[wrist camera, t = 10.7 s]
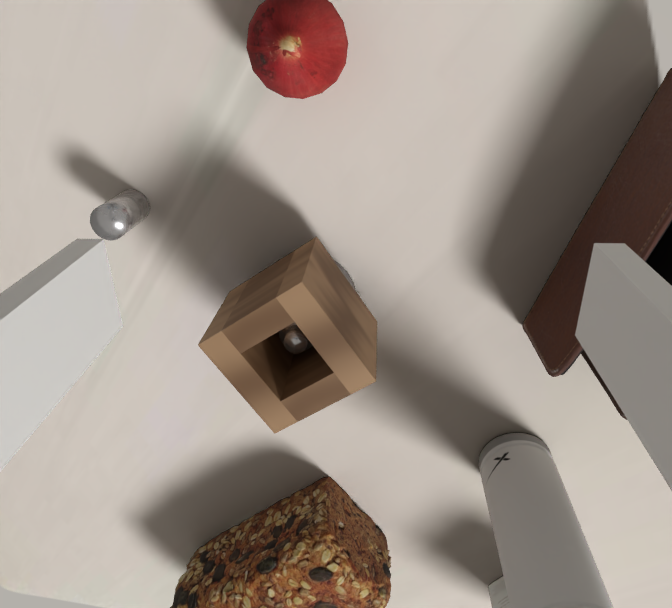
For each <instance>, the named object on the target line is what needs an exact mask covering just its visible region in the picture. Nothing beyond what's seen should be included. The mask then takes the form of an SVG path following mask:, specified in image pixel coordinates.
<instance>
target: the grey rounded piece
mask: <svg viewBox="0 0 672 608" xmlns="http://www.w3.org/2000/svg"><path fill="white" fill-rule="evenodd" d="M149 211H150V205H149V202H148V200H147V198H146V197H145V196H144V195H143V194H142V193H141V192H139V191H137V190H126V191H124V192H122V193H120V194H119V195H117V196H115V197H114V198H112V199H110V200H109V201H107V202H105V203H104V204H102V205H100V206H99V207H97V208H96V209H94V210H93V212H92V213H91V216H90V223H91V227H92V229H93V230H94V232H95V233H96V234H97V235H98V236H100V237H101V238H103V239H106V240H116V239H118V238H120V237H121V236H123V235H124V234H125V233H127V232H128V231H129V230H130V229H132V228H133V227H134V226H136V225H137V224H138V223H140V222H141V221H142V220H144V219H145V218H146V217H147V216H148V214H149Z"/></svg>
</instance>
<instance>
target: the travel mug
mask: <svg viewBox="0 0 672 608" xmlns="http://www.w3.org/2000/svg"><path fill="white" fill-rule="evenodd" d="M478 463H479V470H480V474H481V478H482V483H483V487H484V492H485V496H486V501H487V505H488V510H489V514H490V519H491V523H492V527H493V532H494V536H495V541H496V545H497V550H498V554H499V558H500V563H501V567H502V572H503V576H504V581H505V585H506V589H507V594H508V598H509V603H510V607H511V608H614V607H613V605H612V602H611V600H610V598H609V595H608V593H607V590H606V588H605V585H604V583H603V580H602V578H601V575H600V573H599V570H598V568H597V566H596V563H595V561H594V558H593V556H592V553H591V551H590V548H589V546H588V543H587V541H586V538H585V536H584V534H583V531H582V529H581V526H580V524H579V521H578V519H577V516H576V514H575V511H574V509H573V506H572V504H571V502H570V499H569V497H568V494H567V492H566V489H565V487H564V484H563V482H562V479H561V477H560V474H559V472H558V469H557V467H556V465H555V463H554V460H553V457H552V455H551V452H550V450H549V448H548V447H547V445H546V444H545V443H544V442H543V441H542V440H540V439H539V438H537V437H535V436H532V435H529V434H525V433H509V434H505V435H501V436H499V437H497V438H495V439H493V440H492V441H490V442H489V443H488V444H487V445H486V446H485V447H484V448H483V450H482V451H481V454H480V456H479V461H478Z"/></svg>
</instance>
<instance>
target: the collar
mask: <svg viewBox="0 0 672 608" xmlns="http://www.w3.org/2000/svg"><path fill="white" fill-rule="evenodd" d="M294 322H295V323H296V324H297V326H298V327H299V328H300V330H301V331H302V332H303V333H304V335H305V336H306V337H307V339H308V340H309V341H310V342H311V344H312V345H313V346H312V347H310V348H309V349H307V350H305V351H303V352H302V353H299V354H294V353H291V352H289V351H287V350H286V348H285V347H284V344H283V343H282V342H281V340H280V337H279V331H280V330H282V329H284V328H285V327H287V326H289V325H290V324H292V323H294ZM198 346H199V347H200V348H201V349H202V350H203V351H204V353H205V354H206V355H207V356H208V357H209V358H210V360H211V361H212V362H213V363H214V364H215V365H216V366H217V368H218V369H219V370H220V371H221V372H222V373H223V375H224V376H225V377H226V378H227V379H228V380H229V381H230V383H231V384H232V385H233V386H234V387H235V388H236V390H237V391H238V392H239V393H240V394H241V395H242V396H243V398H244V399H245V400H246V401H247V402H248V403H249V404H250V406H251V407H252V408H253V409H254V410H255V411H256V413H257V414H258V415H259V416H260V417H261V418H262V419H263V421H264V422H265V423H266V424H267V425H268V426H269V428H270V429H271V430H272V431H273V432H274V433H277V432H279V431H281V430H283V429H284V428H286V427H288V426H290V425H292V424H294V423H296V422H298V421H300V420H302V419H304V418H306V417H308V416H310V415H312V414H314V413H316V412H318V411H319V410H321V409H323V408H325V407H327V406H329V405H331V404H333V403H335V402H337V401H339V400H341V399H343V398H345V397H347V396H349V395H351V394H353V393H354V392H356V391H358V390H360V389H362V388H364V387H366V386H368V385H370V384H372V383H374V382H376V364H377V321H376V319H375V318H374V317H373V315H372V314H371V312H370V311H369V310H368V308H367V307H366V305H365V304H364V303H363V301H362V300H361V298H360V297H359V296H358V294H357V293H356V291H355V290H354V289H353V287H352V286H351V284H350V283H349V281H348V280H347V279H346V277H345V276H344V274H343V273H342V272H341V270H340V269H339V267H338V266H337V265H336V263H335V262H334V260H333V259H332V258H331V256H330V255H329V253H328V252H327V251H326V249H325V248H324V246H323V245H322V244H321V242H320V241H319V239H318V238H317V237H315V238H314V239H312V240H311V241H309V242H307V243H306V244H304V245H303V246H301V247H299V248H298V249H296V250H295V251H293V252H292V253H290V254H288V255H287V256H285V257H284V258H282V259H280V260H279V261H277V262H276V263H274V264H273V265H271V266H269V267H268V268H266V269H265V270H263V271H262V272H260V273H258V274H257V275H255V276H254V277H252V278H250V279H249V280H247V281H246V282H244V283H243V284H241V285H239V286H238V287H236V288H235V289H233V290H231V291H230V292H229V294H228V295H227V297H226V299H225V300H224V302H223V304H222V305H221V307H220V309H219V311H218V312H217V314H216V316H215V317H214V319H213V321H212V322H211V324H210V326H209V327H208V329H207V331H206V332H205V334H204V336H203V337H202V339H201V341H200V342H199V344H198Z"/></svg>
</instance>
